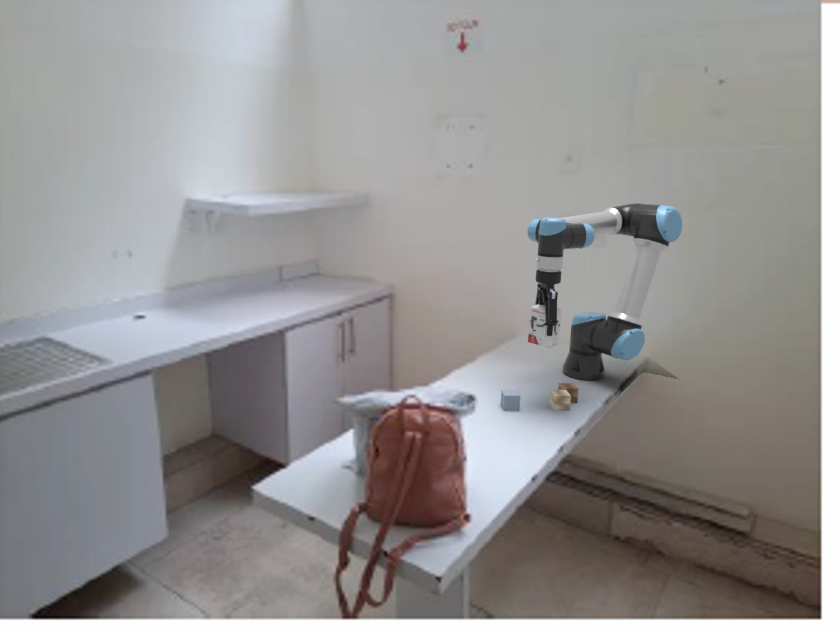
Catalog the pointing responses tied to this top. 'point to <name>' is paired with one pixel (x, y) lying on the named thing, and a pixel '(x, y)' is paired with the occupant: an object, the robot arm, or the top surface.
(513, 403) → the cube slate
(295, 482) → the top surface
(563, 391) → the cube maple
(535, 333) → the ink box
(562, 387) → the cube walnut
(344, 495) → the top surface
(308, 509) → the top surface
